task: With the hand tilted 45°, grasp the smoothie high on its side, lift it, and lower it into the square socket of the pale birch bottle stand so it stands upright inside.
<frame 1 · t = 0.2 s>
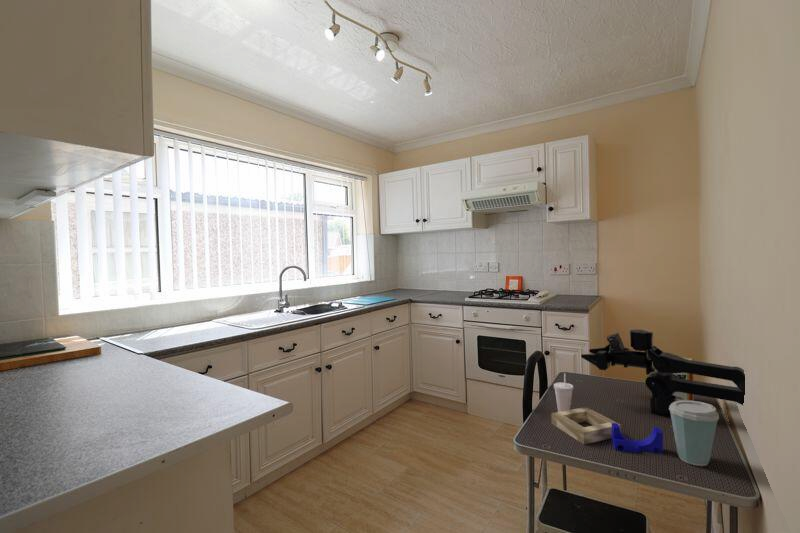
hand: (585, 353, 146), 17 cm above the table, tool horizontal, fingers open, 9 cm apart
disposable coffee cup: (693, 460, 101), on the table
bottle stand: (585, 429, 119), on the table
cable clip: (637, 450, 107), on the table
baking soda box: (676, 401, 139), on the table
smoothie: (563, 413, 132), on the table
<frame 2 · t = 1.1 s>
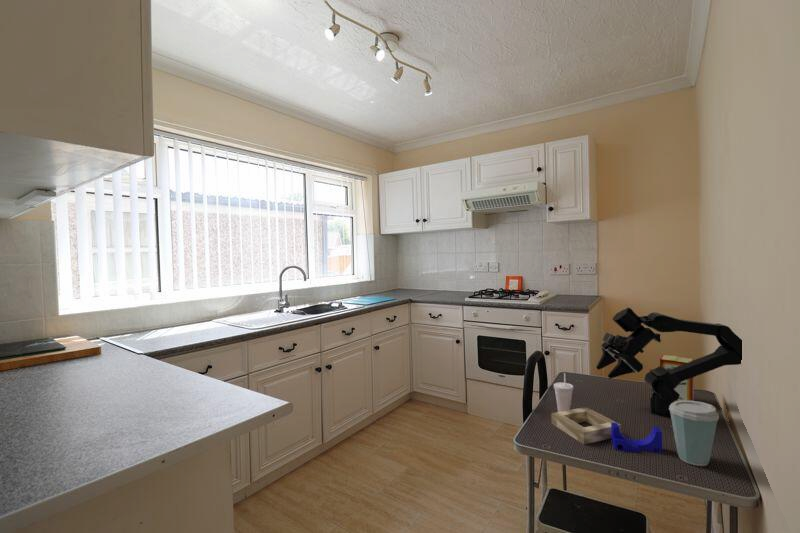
hand: (602, 372, 131), 14 cm above the table, tool tilted 45°, fingers open, 9 cm apart
nothing on the table moved.
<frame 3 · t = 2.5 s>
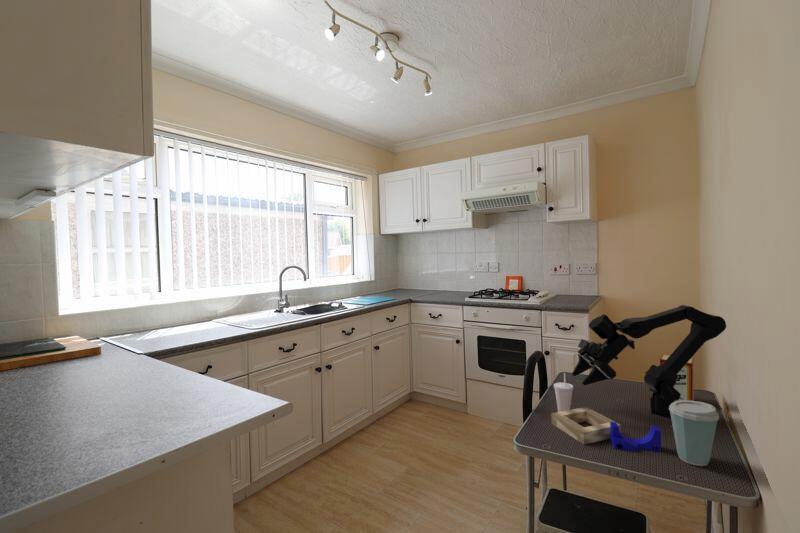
hand: (577, 379, 131), 12 cm above the table, tool tilted 45°, fingers open, 9 cm apart
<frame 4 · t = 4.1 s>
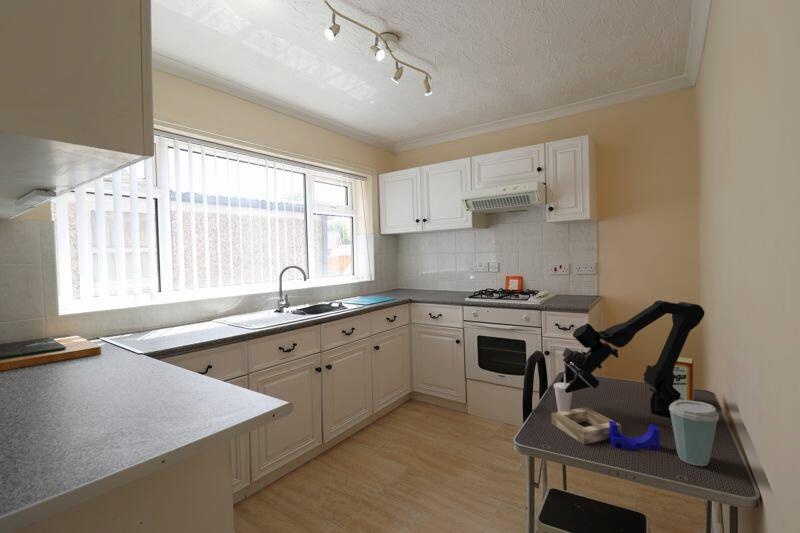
hand: (562, 388, 132), 9 cm above the table, tool tilted 45°, fingers closed on smoothie, 6 cm apart
smoothie: (563, 413, 132), on the table, touching gripper
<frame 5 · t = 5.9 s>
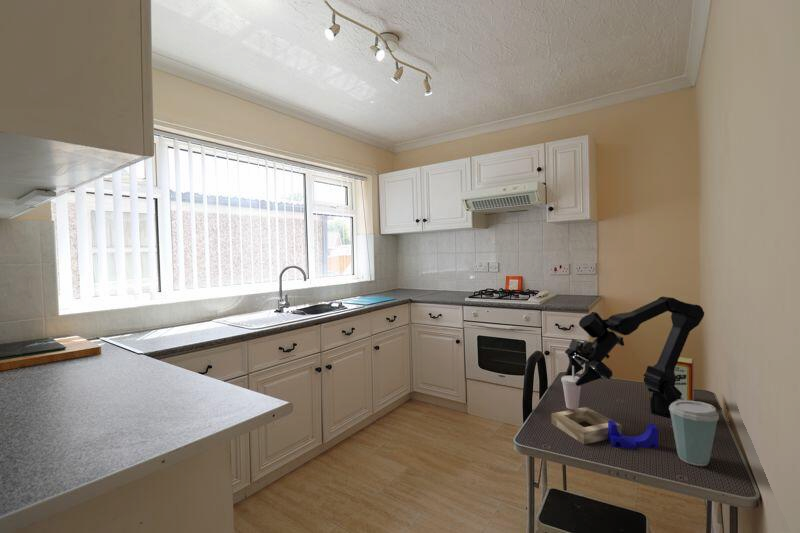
hand: (570, 381, 125), 13 cm above the table, tool tilted 45°, fingers closed on smoothie, 6 cm apart
smoothie: (572, 407, 125), point 4 cm above the table, touching gripper
when the fingers open (10 cm above the table, at t = 7.7 s): smoothie drops 1 cm, resting in bottle stand.
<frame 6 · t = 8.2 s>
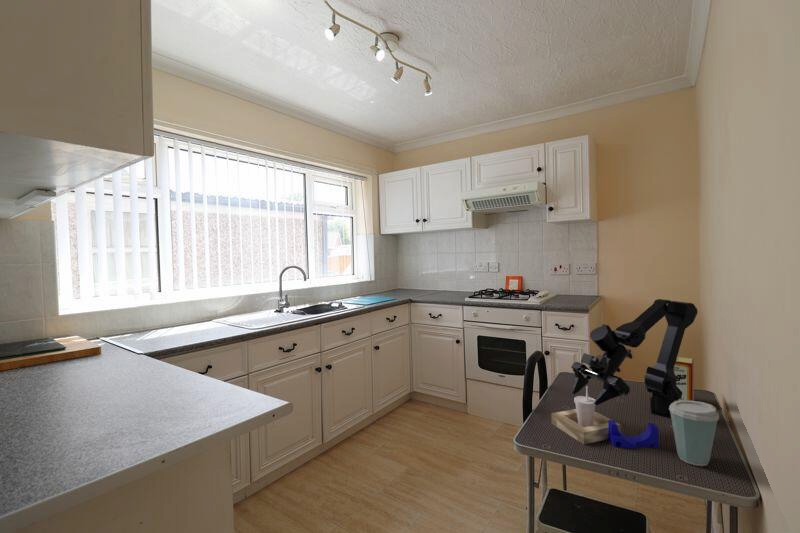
hand: (583, 398, 119), 10 cm above the table, tool tilted 45°, fingers open, 9 cm apart
smoothie: (585, 430, 119), resting in bottle stand
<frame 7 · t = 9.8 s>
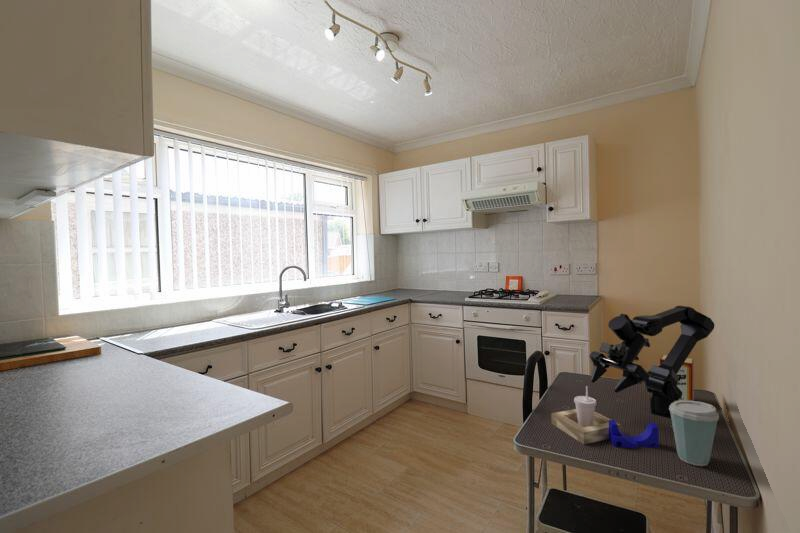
hand: (603, 386, 121), 13 cm above the table, tool tilted 45°, fingers open, 9 cm apart
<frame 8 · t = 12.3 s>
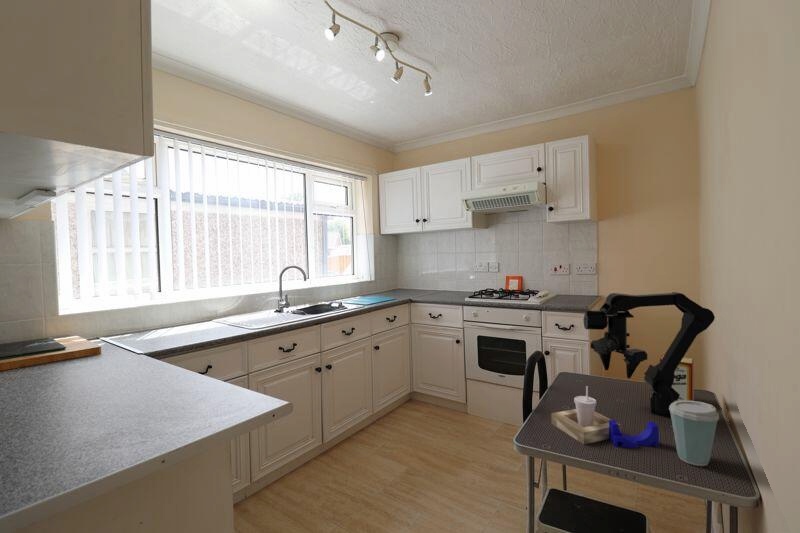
hand: (617, 373, 132), 13 cm above the table, tool pointing down, fingers open, 9 cm apart
at the end: smoothie 0.2 cm off-centre on the bottle stand, point 0.0 cm above the bottle stand's base; smoothie tilted 0°; the gripper is holding nothing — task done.
